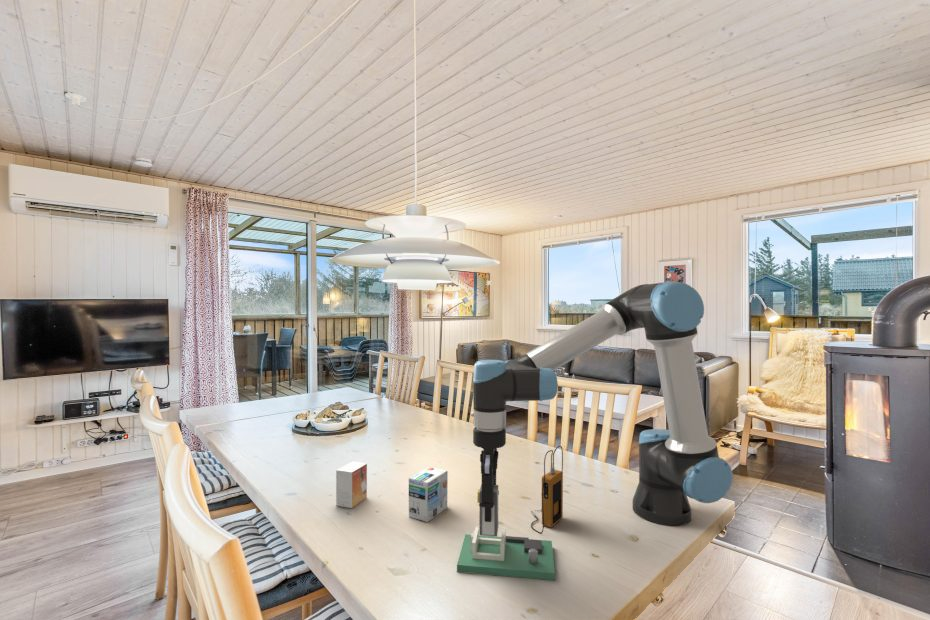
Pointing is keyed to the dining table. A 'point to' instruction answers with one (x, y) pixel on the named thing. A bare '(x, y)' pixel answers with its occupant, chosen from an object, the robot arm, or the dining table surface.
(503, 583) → the dining table surface
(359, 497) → the small box
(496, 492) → the plug
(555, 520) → the multimeter
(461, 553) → the board
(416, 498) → the light bulb box
